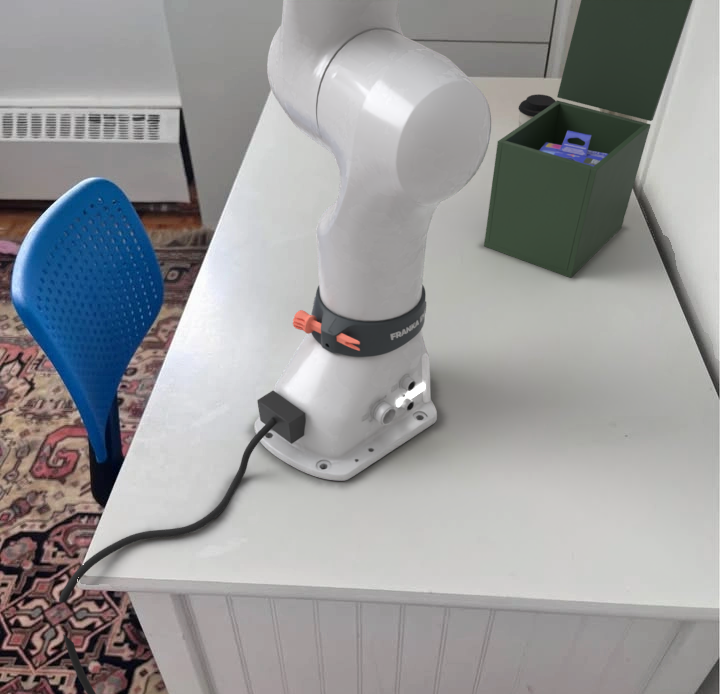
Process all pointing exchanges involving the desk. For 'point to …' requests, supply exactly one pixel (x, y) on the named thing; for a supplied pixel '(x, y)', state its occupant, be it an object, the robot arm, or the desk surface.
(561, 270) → the bin
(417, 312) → the robot arm
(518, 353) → the desk surface
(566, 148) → the ink cartridge box
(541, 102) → the black capped white jar
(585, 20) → the bin lid
